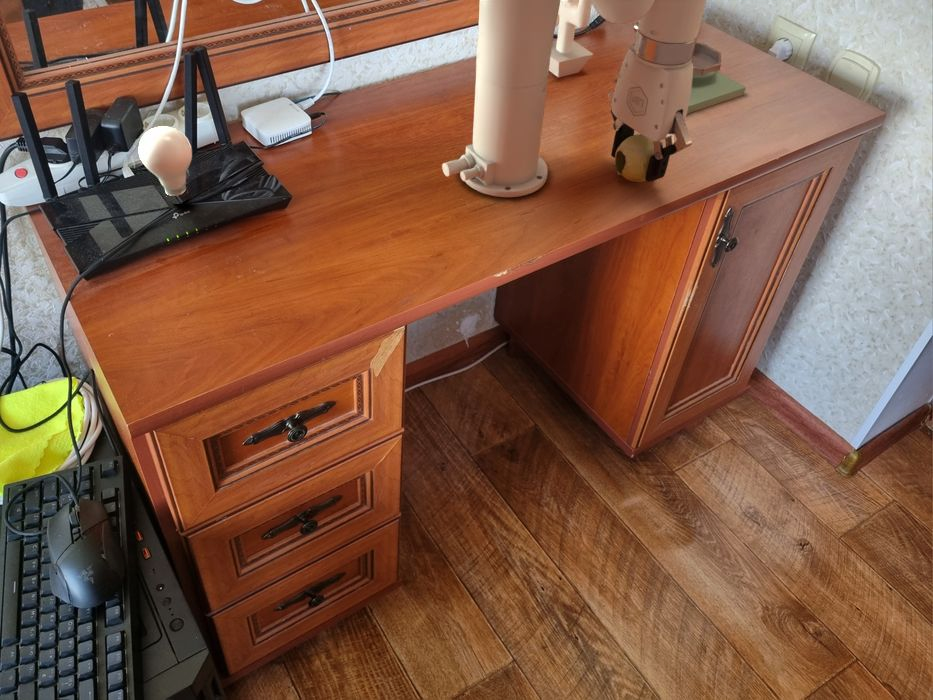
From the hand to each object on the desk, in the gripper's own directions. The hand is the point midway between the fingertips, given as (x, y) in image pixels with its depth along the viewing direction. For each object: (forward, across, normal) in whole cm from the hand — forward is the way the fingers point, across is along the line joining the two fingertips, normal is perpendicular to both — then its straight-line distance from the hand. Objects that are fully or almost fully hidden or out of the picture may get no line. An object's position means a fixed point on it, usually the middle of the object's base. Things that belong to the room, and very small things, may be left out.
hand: (637, 165), depth 113 cm
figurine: (+2, -32, +12) cm, 35 cm away
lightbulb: (+2, -27, -58) cm, 64 cm away
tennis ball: (+2, 0, 0) cm, 2 cm away
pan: (-1, -19, +28) cm, 34 cm away
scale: (+2, -17, +26) cm, 31 cm away
